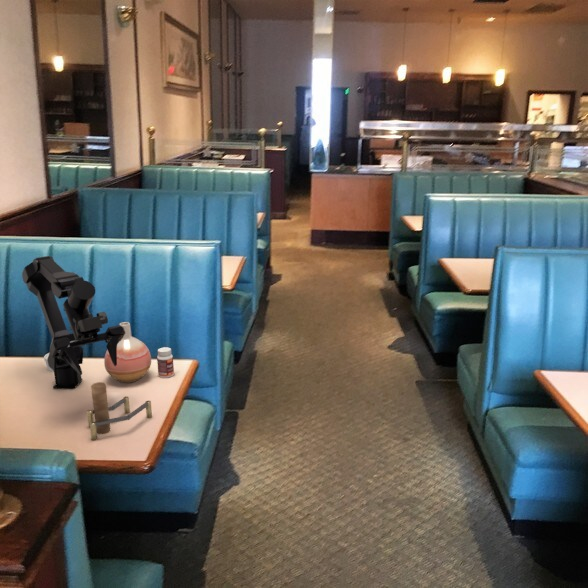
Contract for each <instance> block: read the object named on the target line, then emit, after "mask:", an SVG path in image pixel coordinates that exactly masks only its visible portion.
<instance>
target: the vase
mask: <svg viewBox="0 0 588 588" xmlns="http://www.w3.org/2000/svg"><path fill="white" fill-rule="evenodd" d="M118 325H121V326H122V327H123V328H124V330H125V335H124V336H123V338H122V340H121V341H119V343H118V344H117V365H116V366H114V364H113V362H112V360H111V357H110V355H109V352H108V349H107V348H106V349H107V350H106V352H105V355H104V359H103V360H104V361H103V362H104V368H105V371H106V373H107V374H108V375H109V376H110V377H111V378H113V379H114V380H116V381H118V382H120V383H125V384H126V383H133V382H137V381H139V380H141V379H142V378H143V377H144V376H145V375H146V374H147V373H148V372H149V370H150V369H151V366H152V355H151V352H150V350H149V347H148V346H147V345H146V344H145V343H144V342H143V341H141V340H140V339H138V338H136V337H134V336H132V329H131V328H132V327H131V323H130V322H128V321H124V322H123V321H122V322H120V323H119V324H118Z"/></svg>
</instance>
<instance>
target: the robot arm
mask: <svg viewBox="0 0 588 588" xmlns="http://www.w3.org/2000/svg"><path fill="white" fill-rule="evenodd" d="M21 273H22V274H21V276H22V280H23V283H24V284H26V287H27V289H28V291H29V292H31V293H32V294H33V295H35V296H36V298H37V299H38V303H39V306H40V308H41V312H42V313H43V317H44V319H45V321H46V325H47V327H48V332H49V333H50V336H51V343H50V346H49V352H48V353H49V356H48V359H47V360H48V364H49V367H50V368H51V369H52V370H54V372H53V375H54V382H55V384H54V385H53V386H52V388H53V389H64V390H65V389H68V390H69V389H70V390H71V389H72V390H73V389H76V388H77V387H78V385H80V384H81V383H82V382H83V378H82V375H83V371H82V368H81V365H82V364H83V361H84V348H83V347H82V346H85V345H86V346H87V345H90V344H94V343H95V344H96V343H99V342H102V341H104V342H105V343H106V349H108V352H109V355H110V357H111V360H112V362H113V364H114V366H116V365H117V344H118V343H119V341H121V340H122V338H123V336H124V335H125V330H124V328H123V327H122V326H121V325H119V324H118V325H112V326H108V327H107V329H106V331H105V332H102V333H100V331H101V329H103V327H104V326H103V325H106V324H108V323H109V320H108V315H107V314H106V312H105V311H101V312H97V313H96V316H94V315H93V314H92V313H90V310H89V307H90V305H91V303H92V301H93V299H94V297H95V294H96V288H95V285H94V284H92V282H90V281H87V280H84V278H83V276H79V274H77V273H75V272H72V271H66V270H64V269H63V268H62V267H61V266H60V265H59V264H58V263H57V262H56V261H55V260H54V257H53V256H50V255H46V256H39V257H35V258H34V259H33V260H32V262H30V263H28V264H27V265H25V267H23V270H22V272H21ZM64 298H66V299H65V300H64V302H63V304H62V308H63V311H64V312H65V315H66V318H67V320H68V323H69V325H70V326H69V331H72V333H71V332H69V331H68V328H67V327H66V323H65V320H64V318H63V315H62V312H61V310H60V306H59V304H58V302H57V299H59V300H60V299H64Z"/></svg>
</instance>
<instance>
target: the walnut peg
mask: <svg viewBox="0 0 588 588" xmlns="http://www.w3.org/2000/svg"><path fill="white" fill-rule="evenodd" d="M90 390H91V397H92V407H93V410H94V414H93V417H94V422H96V421H102V420H107V419H110V414H109V413H110V411H109V410H108V407H109V403H108V402H109V401H108V392H107V384H106V383H105V382H103V381H102V382H95V383H92V384H91V385H90ZM110 429H111V423H109V424H104V425H99V426H96V430H97V435H104V434H105V435H106V434H108V433H109V432H111V430H110Z"/></svg>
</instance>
